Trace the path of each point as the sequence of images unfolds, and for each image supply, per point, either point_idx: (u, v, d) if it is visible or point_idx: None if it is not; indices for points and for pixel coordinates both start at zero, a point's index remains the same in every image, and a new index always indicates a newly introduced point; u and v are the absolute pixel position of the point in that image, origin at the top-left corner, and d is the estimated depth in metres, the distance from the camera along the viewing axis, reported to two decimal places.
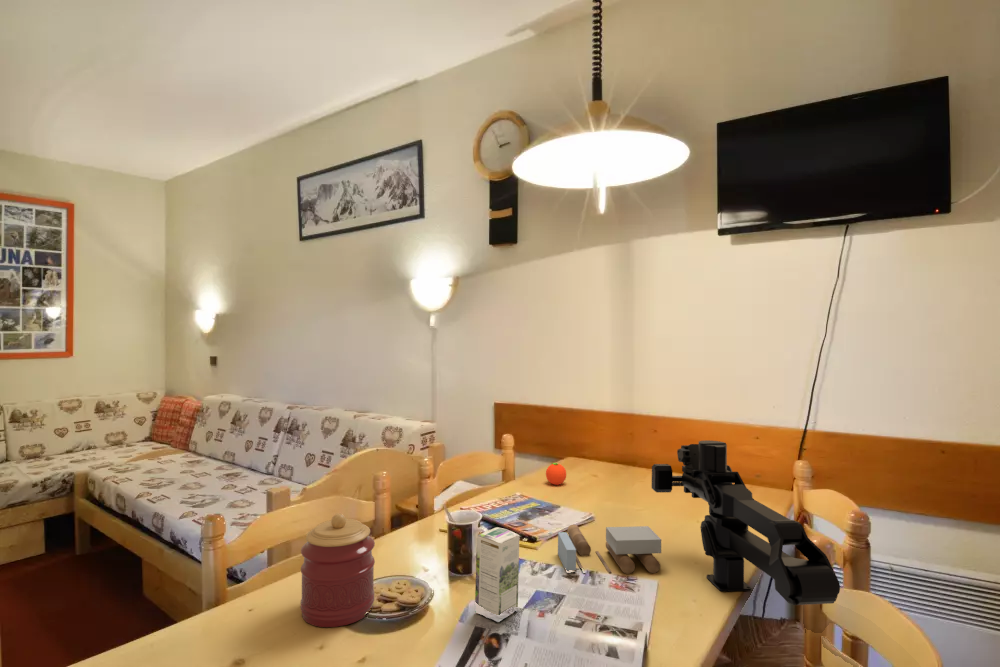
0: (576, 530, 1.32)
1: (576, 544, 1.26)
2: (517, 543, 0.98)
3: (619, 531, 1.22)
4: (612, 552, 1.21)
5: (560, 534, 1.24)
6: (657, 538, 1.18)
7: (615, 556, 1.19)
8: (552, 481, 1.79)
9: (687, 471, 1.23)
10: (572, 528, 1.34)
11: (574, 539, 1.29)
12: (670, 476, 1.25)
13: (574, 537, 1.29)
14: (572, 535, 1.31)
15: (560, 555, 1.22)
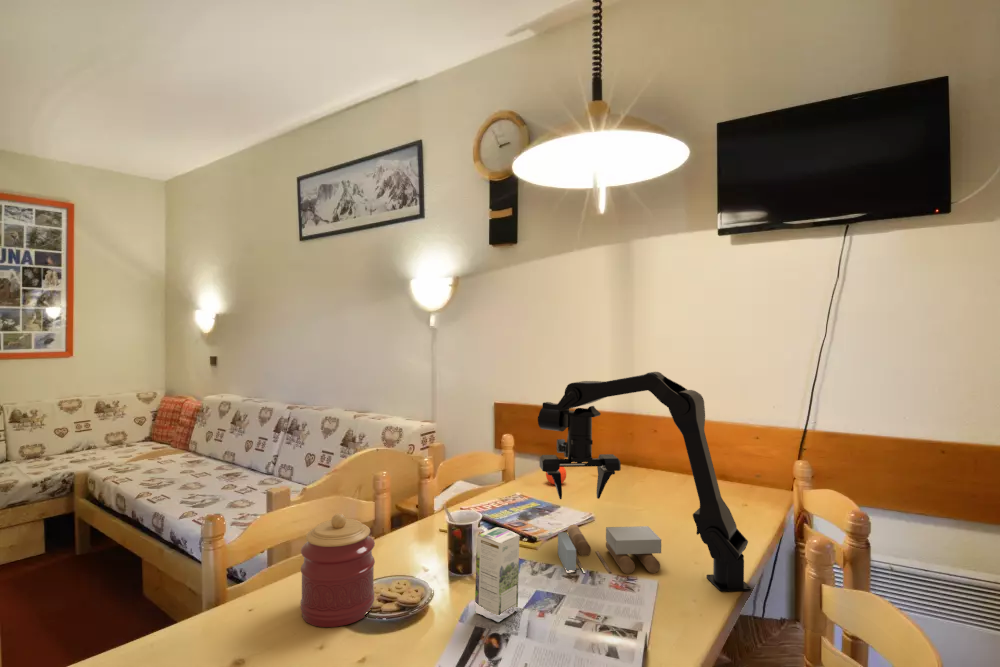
0: (576, 530, 1.32)
1: (576, 544, 1.26)
2: (517, 543, 0.98)
3: (619, 531, 1.22)
4: (612, 552, 1.21)
5: (560, 534, 1.24)
6: (657, 538, 1.18)
7: (615, 556, 1.19)
8: (552, 481, 1.79)
9: (566, 446, 1.32)
10: (572, 528, 1.34)
11: (574, 539, 1.29)
12: (554, 456, 1.31)
13: (574, 537, 1.29)
14: (572, 535, 1.31)
15: (560, 555, 1.22)
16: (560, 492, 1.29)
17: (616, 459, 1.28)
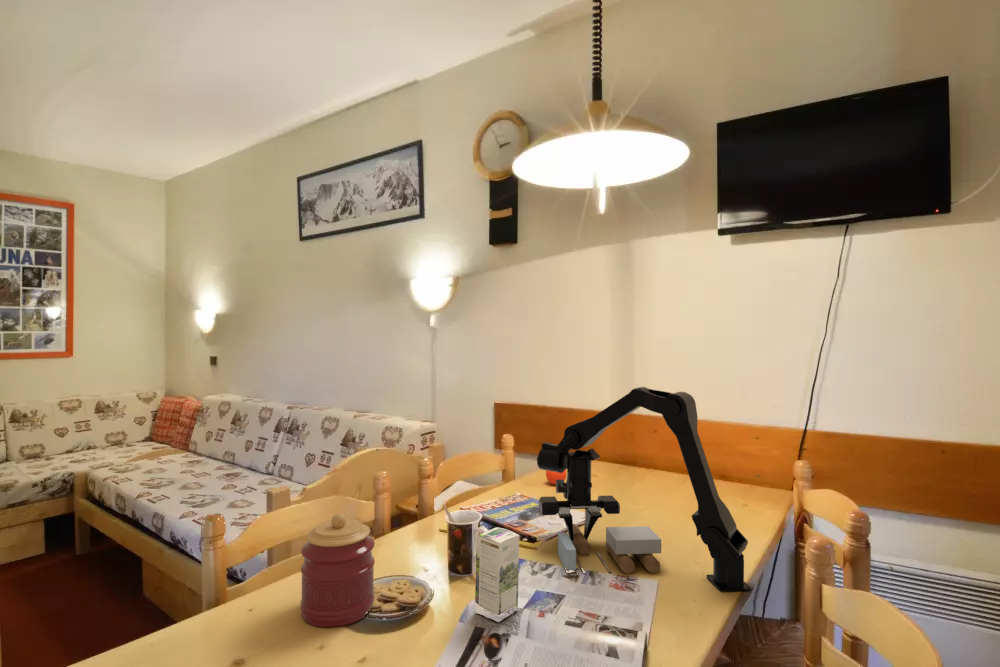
0: (576, 529, 1.32)
1: (576, 543, 1.26)
2: (517, 543, 0.98)
3: (619, 531, 1.22)
4: (612, 552, 1.21)
5: (560, 534, 1.24)
6: (657, 538, 1.18)
7: (615, 556, 1.19)
8: (552, 481, 1.79)
9: (565, 487, 1.32)
10: None
11: (574, 538, 1.29)
12: (554, 498, 1.31)
13: (574, 536, 1.29)
14: None
15: (560, 555, 1.22)
16: (571, 534, 1.29)
17: (615, 502, 1.29)
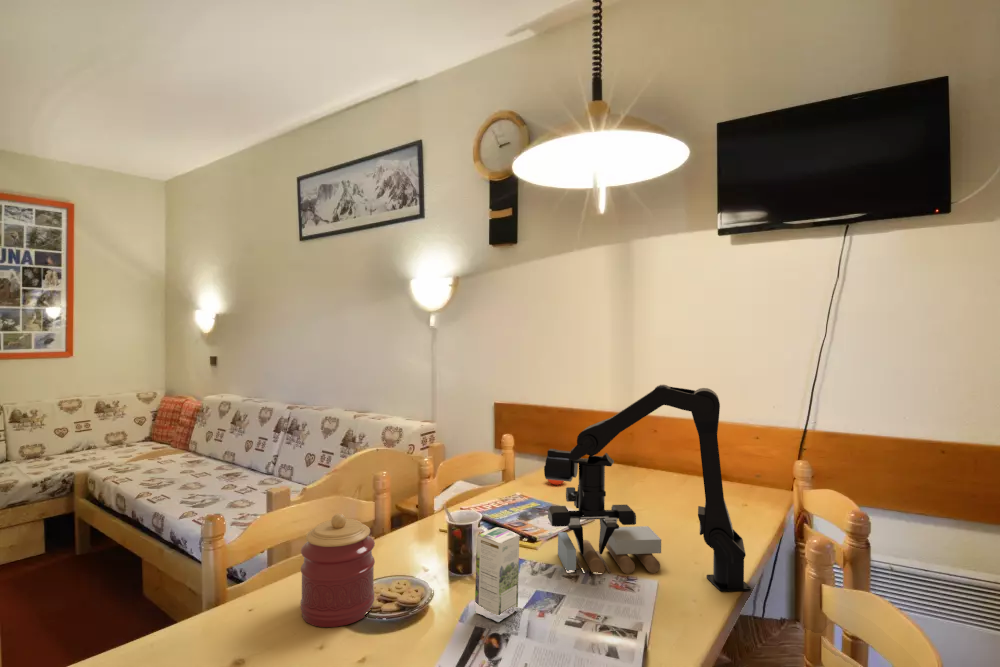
0: (588, 546, 1.22)
1: (589, 562, 1.16)
2: (517, 543, 0.98)
3: (619, 531, 1.22)
4: (612, 552, 1.21)
5: (560, 534, 1.24)
6: (657, 538, 1.18)
7: (615, 556, 1.19)
8: (552, 481, 1.79)
9: (576, 496, 1.23)
10: (584, 544, 1.24)
11: (586, 556, 1.19)
12: (564, 507, 1.21)
13: (586, 554, 1.19)
14: (584, 552, 1.21)
15: (560, 555, 1.22)
16: (581, 547, 1.19)
17: (631, 512, 1.19)
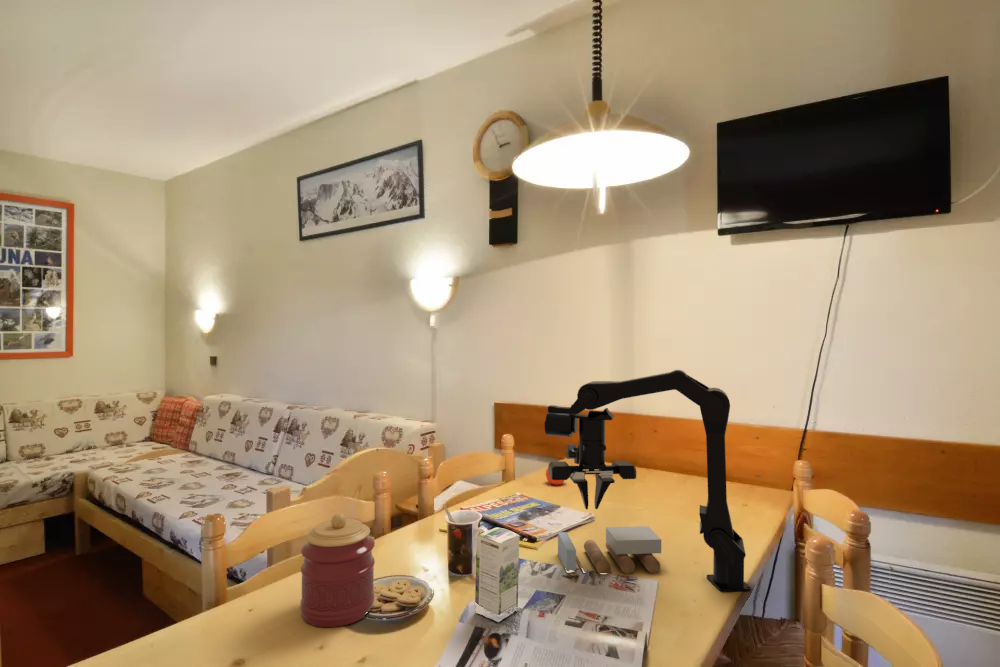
0: None
1: (599, 558, 1.16)
2: (517, 543, 0.98)
3: (619, 531, 1.22)
4: (612, 552, 1.21)
5: (560, 534, 1.24)
6: (657, 538, 1.18)
7: (615, 556, 1.19)
8: (552, 481, 1.79)
9: (576, 451, 1.22)
10: (595, 543, 1.24)
11: (597, 553, 1.19)
12: (564, 462, 1.21)
13: (597, 551, 1.20)
14: (595, 548, 1.21)
15: (560, 555, 1.22)
16: (586, 501, 1.19)
17: (631, 466, 1.19)
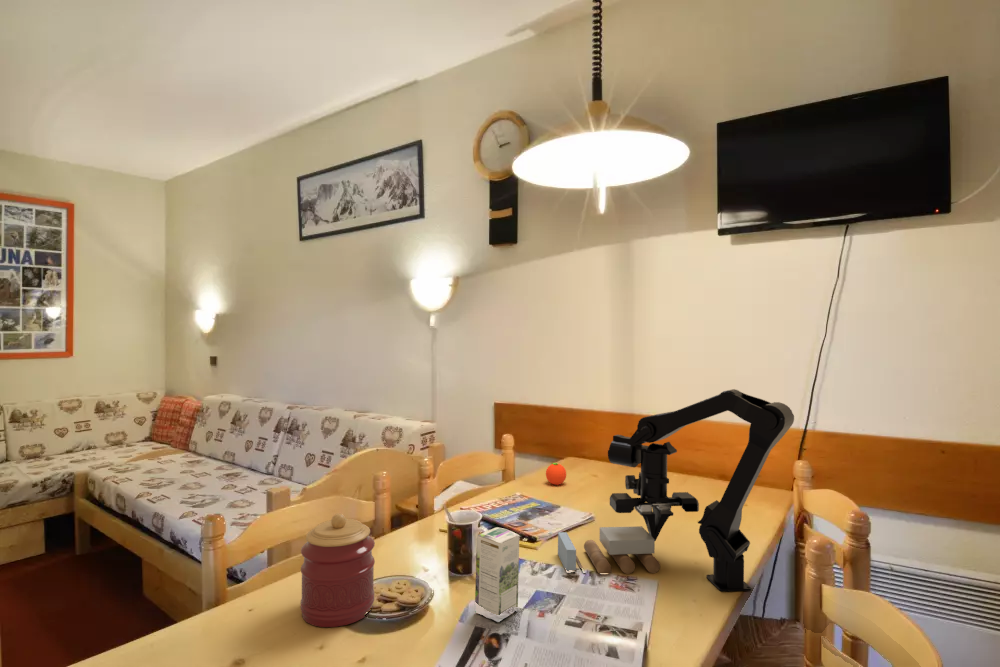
0: None
1: (599, 558, 1.17)
2: (517, 543, 0.98)
3: (612, 531, 1.22)
4: None
5: (560, 534, 1.24)
6: (650, 538, 1.18)
7: (615, 556, 1.19)
8: (552, 481, 1.79)
9: (637, 483, 1.24)
10: (595, 543, 1.24)
11: (597, 552, 1.19)
12: (626, 494, 1.22)
13: (598, 551, 1.20)
14: (595, 548, 1.21)
15: (560, 555, 1.22)
16: (652, 533, 1.20)
17: (694, 499, 1.20)
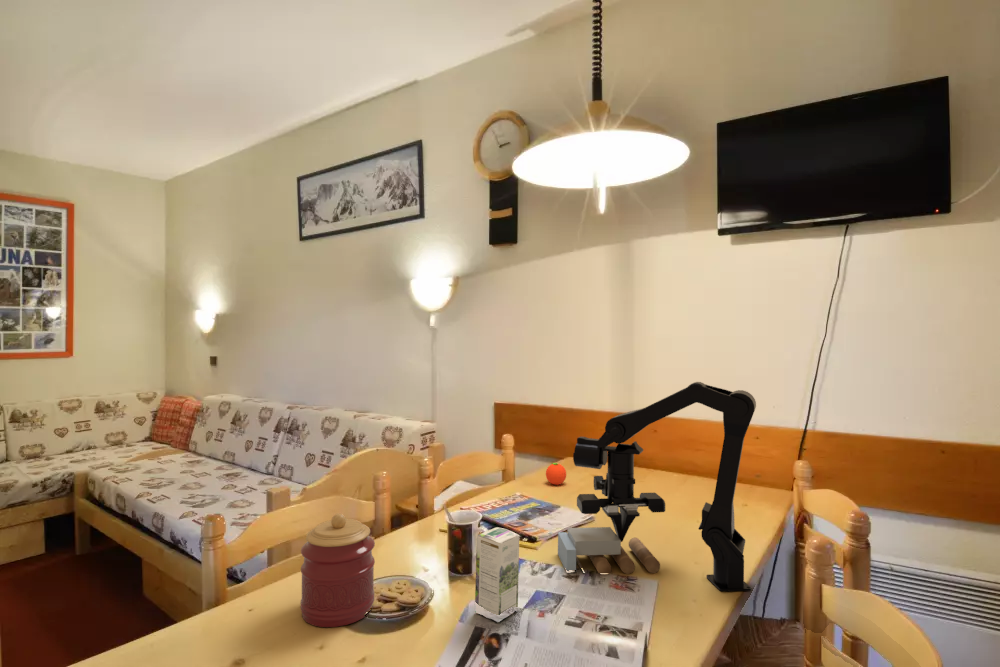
0: None
1: (599, 557, 1.17)
2: (517, 543, 0.98)
3: (579, 532, 1.22)
4: None
5: (560, 534, 1.24)
6: (617, 539, 1.17)
7: (615, 556, 1.19)
8: (552, 481, 1.79)
9: (605, 484, 1.23)
10: None
11: None
12: (593, 495, 1.21)
13: None
14: None
15: (560, 555, 1.22)
16: (619, 534, 1.20)
17: (660, 499, 1.19)
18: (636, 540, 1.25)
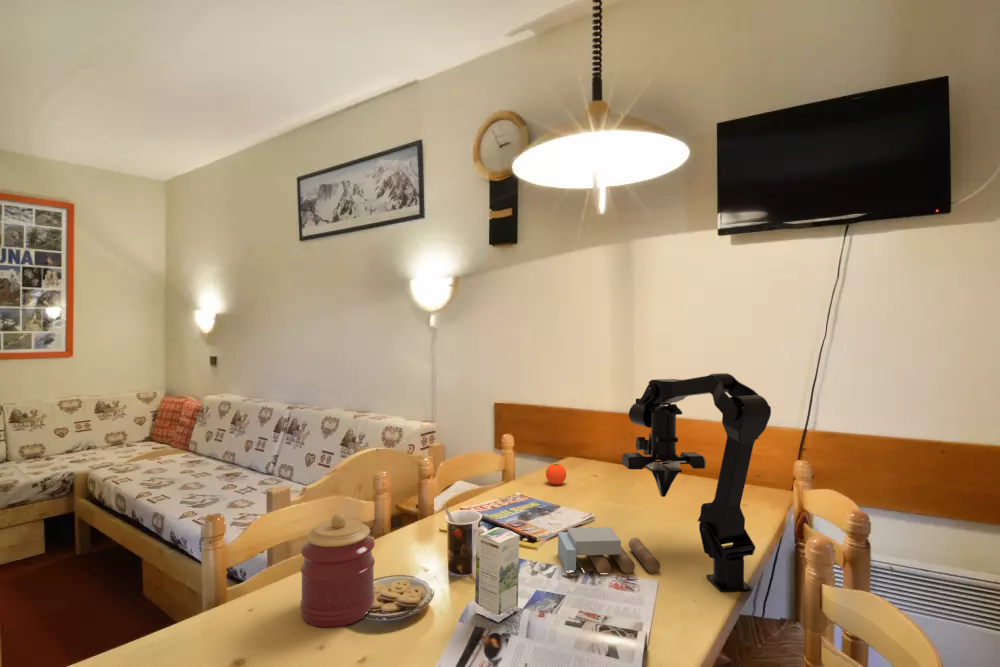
0: None
1: (599, 558, 1.17)
2: (517, 543, 0.98)
3: (579, 532, 1.22)
4: None
5: (560, 534, 1.24)
6: (617, 539, 1.17)
7: (615, 556, 1.19)
8: (552, 481, 1.79)
9: (648, 443, 1.32)
10: None
11: None
12: (638, 453, 1.30)
13: None
14: None
15: (560, 555, 1.22)
16: (662, 489, 1.29)
17: (701, 457, 1.28)
18: (636, 540, 1.25)
